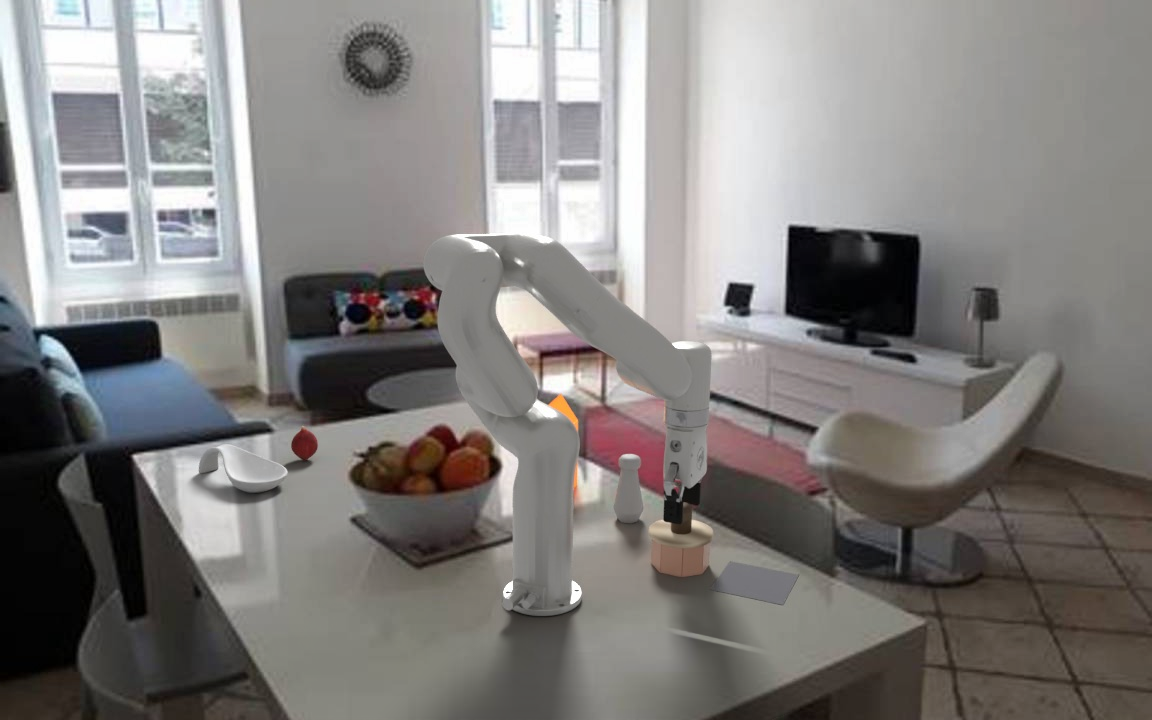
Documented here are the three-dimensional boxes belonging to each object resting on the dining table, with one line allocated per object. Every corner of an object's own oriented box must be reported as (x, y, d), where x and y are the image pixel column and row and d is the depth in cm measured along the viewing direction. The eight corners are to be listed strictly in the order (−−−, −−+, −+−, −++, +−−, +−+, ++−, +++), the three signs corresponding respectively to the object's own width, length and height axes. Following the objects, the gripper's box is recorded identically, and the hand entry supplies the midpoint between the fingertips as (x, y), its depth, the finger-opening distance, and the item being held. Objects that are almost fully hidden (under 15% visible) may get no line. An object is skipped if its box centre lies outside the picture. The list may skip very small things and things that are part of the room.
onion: (323, 459, 216) (322, 425, 214) (304, 466, 211) (302, 431, 209) (306, 454, 219) (304, 421, 217) (286, 461, 214) (284, 427, 212)
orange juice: (577, 484, 202) (579, 394, 198) (566, 499, 194) (567, 405, 189) (543, 480, 204) (543, 391, 200) (530, 494, 196) (530, 402, 191)
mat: (782, 608, 149) (782, 604, 149) (709, 592, 154) (709, 589, 154) (798, 578, 159) (799, 574, 159) (729, 564, 164) (730, 561, 164)
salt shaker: (643, 514, 186) (645, 451, 183) (642, 525, 181) (645, 461, 178) (614, 512, 187) (615, 450, 184) (612, 524, 181) (614, 459, 178)
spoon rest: (299, 486, 199) (298, 454, 197) (253, 503, 190) (251, 469, 188) (229, 465, 212) (227, 434, 210) (182, 479, 202) (179, 447, 201)
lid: (701, 552, 154) (703, 522, 153) (639, 540, 159) (640, 511, 158) (721, 529, 164) (722, 500, 163) (661, 518, 169) (662, 490, 168)
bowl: (697, 583, 157) (698, 549, 156) (645, 572, 161) (646, 539, 159) (713, 561, 165) (715, 529, 164) (663, 551, 169) (664, 520, 168)
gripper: (691, 432, 148) (686, 535, 152) (722, 406, 163) (717, 500, 167) (646, 426, 151) (643, 526, 155) (681, 401, 166) (677, 493, 170)
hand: (682, 512), depth 161 cm, fingers open, 9 cm apart
